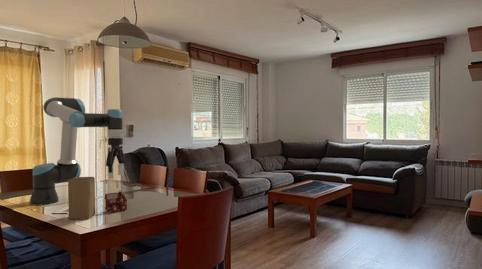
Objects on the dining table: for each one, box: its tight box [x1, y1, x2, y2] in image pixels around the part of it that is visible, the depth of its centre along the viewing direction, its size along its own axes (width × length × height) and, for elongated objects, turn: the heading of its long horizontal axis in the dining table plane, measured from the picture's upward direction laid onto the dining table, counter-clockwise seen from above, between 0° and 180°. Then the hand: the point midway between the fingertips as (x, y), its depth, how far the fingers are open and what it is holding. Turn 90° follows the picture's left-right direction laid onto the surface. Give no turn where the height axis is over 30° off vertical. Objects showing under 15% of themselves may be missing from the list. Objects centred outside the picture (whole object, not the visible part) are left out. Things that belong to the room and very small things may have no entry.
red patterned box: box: [104, 190, 128, 214], centre depth 183 cm, size 7×12×10 cm, turn 138°
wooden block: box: [67, 176, 96, 220], centre depth 171 cm, size 10×10×20 cm
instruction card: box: [53, 205, 69, 213], centre depth 187 cm, size 13×18×1 cm
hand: (116, 176), depth 183 cm, fingers open, 13 cm apart
